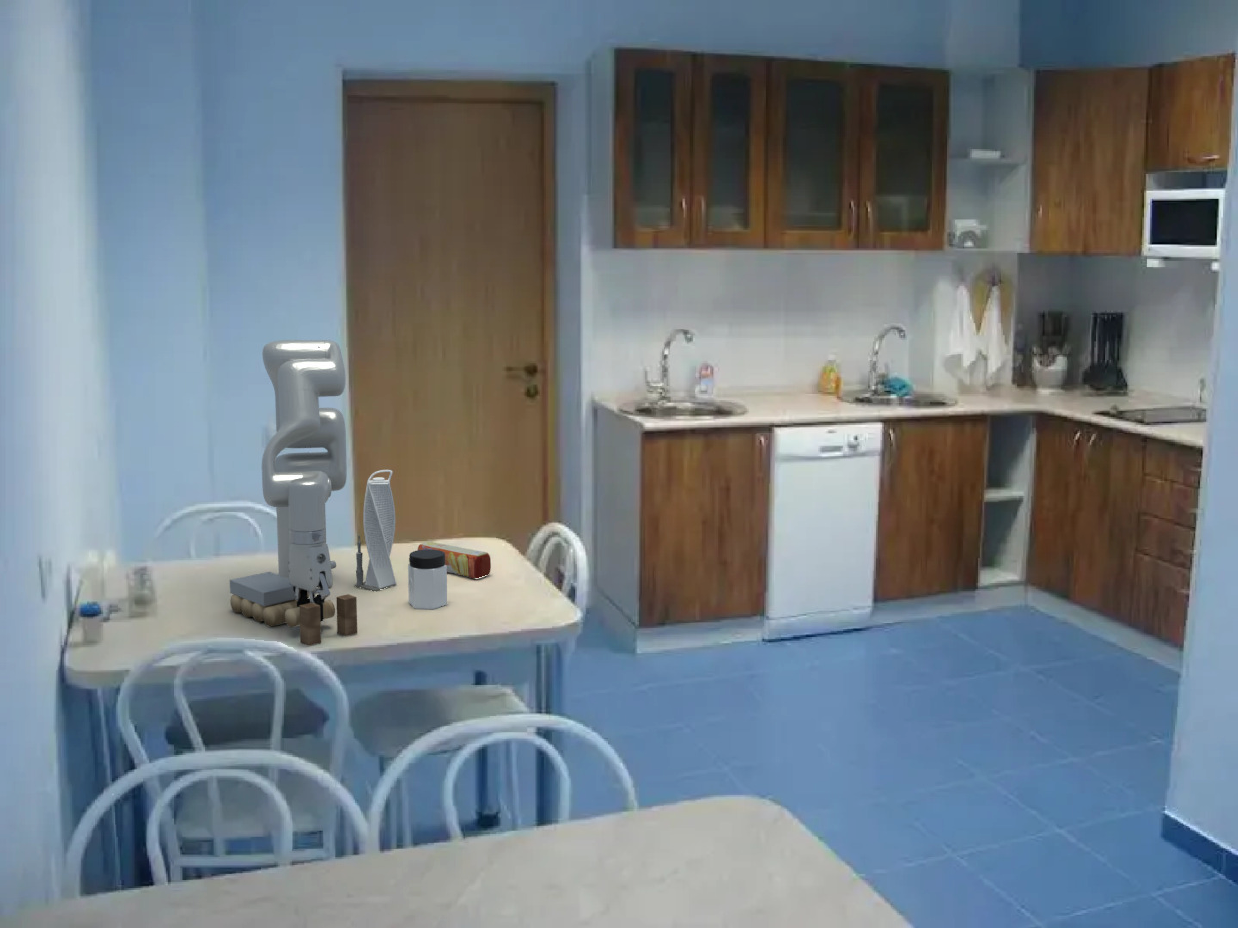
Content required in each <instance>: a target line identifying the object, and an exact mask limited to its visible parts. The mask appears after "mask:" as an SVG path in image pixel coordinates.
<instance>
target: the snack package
mask: <svg viewBox="0 0 1238 928" xmlns="http://www.w3.org/2000/svg"><path fill="white" fill-rule="evenodd" d="M426 549H431V550H440V551H443V552H444V553H445V565H446V566H447V573H449V574H453V573H454V574H453V575H458V574H460V575H459V576H462V575H464V576H463V577H465V576H468V577H467V578H469V577H471V578H470V579H473V578H479V577H482V576H485V575H488V574H489V575H490V573H491V570H492V569H491V567H492V566H491V565H492V564H491V555H490V554H489V553H488V552H486V551H481V550H476V549H471V548H465V547H461V546H456V545H455V546H454V545H450V544H445V543H440V542H439V543H437V542H433V541H430V540H429V541H425V542H423V543H420V544H419V545H418V547H417V550H426ZM489 575H488V576H489Z"/></svg>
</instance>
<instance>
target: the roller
mask: <svg viewBox="0 0 1238 928" xmlns="http://www.w3.org/2000/svg"><path fill="white" fill-rule="evenodd" d="M324 601H325V602H324V604H323V620H327V619H331V618H334V617H335V615H336V607H335V604H334V602H333V601H332V600H331V599H328V600H324ZM285 621H286V623H285V624H286V625H287V626H288V627H289V628H293V627H294V628H295V627H298V626H299V627H300V607H297V608H292V609H288V610H286V612H285Z"/></svg>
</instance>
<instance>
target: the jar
mask: <svg viewBox="0 0 1238 928" xmlns="http://www.w3.org/2000/svg"><path fill="white" fill-rule="evenodd" d="M408 556H409V558H408V562H409V563H408V566H407V570H408V571H407V572H408V573H407V574H408V576H407V578H408V580H407V581H408V582H407V583H408V586H407V587H408V604H409V605H410V604H411V605H410V606H411V607H412V608H413V609H415V608H416V610H417V609H419V610H420V609H421V610H435V609H439V608H441V606H442V607H444V605H445V606H447V605H448V572H447V566H446V565H445V553H444V552H443V551H440V550H431V549H426V550H418V549H417V550H414V551H411V552H410V553H409V555H408ZM446 604H447V605H446Z"/></svg>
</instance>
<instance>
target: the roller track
mask: <svg viewBox="0 0 1238 928" xmlns="http://www.w3.org/2000/svg"><path fill="white" fill-rule="evenodd" d="M229 602H230V607H231V609H232V612H234V613H236V614H238V613H239V614H240V613H242V615H243V616H244V617H245V618H246V619H247V618H253V619H254V621H255V622H257V623H261V622H264V624H265V625H266V626H267V627H269V628H270V627H274V626H278V625H283V624H287V623H286V621H285V612H286V610H288V609H292V608H297V600H296V599H294V600H289V601H285V602H281V603H276V604H272V605H268V606H262V605H259V604H257V603H254V602H252V601H249V600H247V599H244V598H242V597H239V596H237V595H234V594H232V595H231V596H230V599H229Z"/></svg>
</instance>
